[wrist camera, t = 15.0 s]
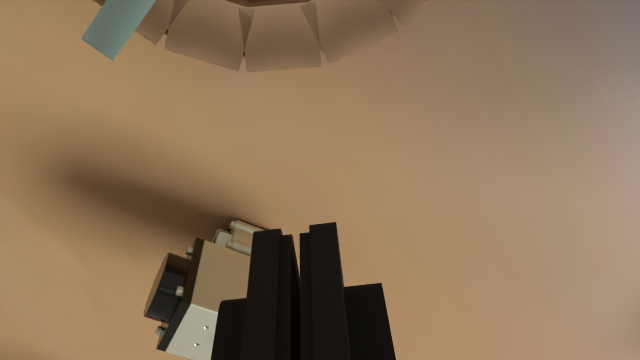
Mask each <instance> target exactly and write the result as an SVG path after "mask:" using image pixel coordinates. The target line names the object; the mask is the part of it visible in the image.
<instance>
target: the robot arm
mask: <svg viewBox="0 0 640 360" xmlns="http://www.w3.org/2000/svg"><path fill="white" fill-rule="evenodd" d="M309 231H310V232H309V233H300V276H299V270H298V264H297V259H296V253H295V248H294V242H293V237H292V235H282V231H281V229H272V230H263V231H254V232H253V238H252V248H251V257H250V267H249V277H248V287H247V296H246V298H240V299H231V300H222V301H221V303H220V305H219V309H218V316H217V322H216V328H215V335H214V341H213V347H212V354H211V360H396V358H395V352H394V347H393V342H392V336H391V331H390V325H389V320H388V315H387V309H386V304H385V299H384V293H383V288H382V284H381V283H376V284H367V285H358V286H349V287H344V283H343V275H342V267H341V259H340V251H339V242H338V234H337V226H336V222H333V223H324V224H316V225H310V226H309Z"/></svg>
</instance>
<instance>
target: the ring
mask: <svg viewBox="0 0 640 360" xmlns="http://www.w3.org/2000/svg"><path fill="white" fill-rule="evenodd" d="M94 1H95V2H97V3H98V4H100V5H101V6H102V8H101V9H100V11H99V12H98V14H97V15H96V17H95V18H94V20H93V21H92V23H91V24H90V26H89V27H88V29H87V30H86V32H85V33H84V35H83V36H82V38H81V39H82V40H83V41H85V42H86V43H88V44H89V45H91V46H92V47H93V48H95V49H96V50H98V51H99V52H101V53H102V54H104V55H105V56H106V57H108V58H109V59H111V60H112V61H113V59H114V58H115V57H116V55H117V54H118V53H119V51H120V50H121V49H122V47H123V46H124V45H125V43H126V42H127V41H128V39H129V38H130V37H131V35H132V34H133V33H134V31H137V32H138V33H139V34H141V35H142V36H144V37H145V38H146V39H148V40H149V41H150V42H152V43H153V44H155V45H156V44H157V43H158V41H159V40H160V39H161V37H162V36H163V34H164V33H165V32H166V30H167V29H168V28H169V29H168V34H167V39H166V44H165V49H164V50H167V51H171V52H174V53H178V54H181V55H185V56H188V57H191V58H195V59H198V60H202V61H205V62H208V63H212V64H215V65H219V66H222V67H225V68H229V69H232V70H236V71H239V68H240V64H241V60H242V57H243V53H244V52H245V59H246V65H247V72H257V71H270V70H282V69H295V68H307V67H319V66H321V59H320V46H321V48H322V50H323V52H324V54H325V56H326V58H327V60H328V62H329V64H331V63H333V62H335V61H337V60H339V59H341V58H343V57H345V56H347V55H349V54H351V53H353V52H355V51H357V50H359V49H362V48H364V47H366V46H368V45H370V44H372V43H374V42H376V41H378V40H380V39H382V38H384V37H386V36H388V35H390V34H392V33H394V32H396V31H398V30H397V27H396V25H395V23H394V20H393V18H392V16H391V13H390V11H391V12H392V13H393V14H394V15H395V16H397V17H398V18H399V19H400V20H401V21H402V22H403V23H404V24H405V25H406V24H407V23H408V22H409V21H410V20H411V19H412V18H413V17H414V16H415V15H416V14H417V13H418V12H419V10H420V9H421V8H422V7H423V6H424V5H425V4H426V3H427V2H428V1H429V0H94ZM389 10H390V11H389ZM319 44H320V45H319Z"/></svg>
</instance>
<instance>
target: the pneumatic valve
mask: <svg viewBox="0 0 640 360" xmlns="http://www.w3.org/2000/svg"><path fill="white" fill-rule="evenodd" d="M229 228H231V231H230V232H228V231H225V230H223V229H218V230H217V231H216V233H215V235H214V237H213V240H212V242H209V241H206V240H203V239H200V238H198V237H196V239H195V241H194V243H193V245H192V247H190V246H188V248H187V250H186V254H187V257H186V258H184V257H181V256H178V255H175V254H172V253H168V254H167V255H166V256H165V258H164V260H163V262H162V264H161V266H160V269H159V271H158V273H157V276H156V278H155V281H154V283H153V286H152V288H151V291H150V294H149V297H148V300H147V303H146V306H145V310H144V317H147V318H150V319H153V320H156V321H160V322H162V323H161V326H158V327H157V329H156V332H155V334H156V335H160V336H159V340H158V344H157V348H156V349H158V350H161V351H165V352H168V353H172V354H175V355H178V356H182V357H185V358H188V359H192V360H211V354H212V347H213V341H214V335H215V328H216V322H217V316H218V309H219V305H220V303H221V301H222V300H231V299H240V298H246V296H247V287H248V277H249V267H250V257H251V248H252V238H253V232H254V231H263V229H261V228H258V227H255V226H253V225H250V224H247V223H245V222H242V221H239V220H236V221H231V222H230V225H229ZM299 276H300V274H299Z"/></svg>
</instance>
